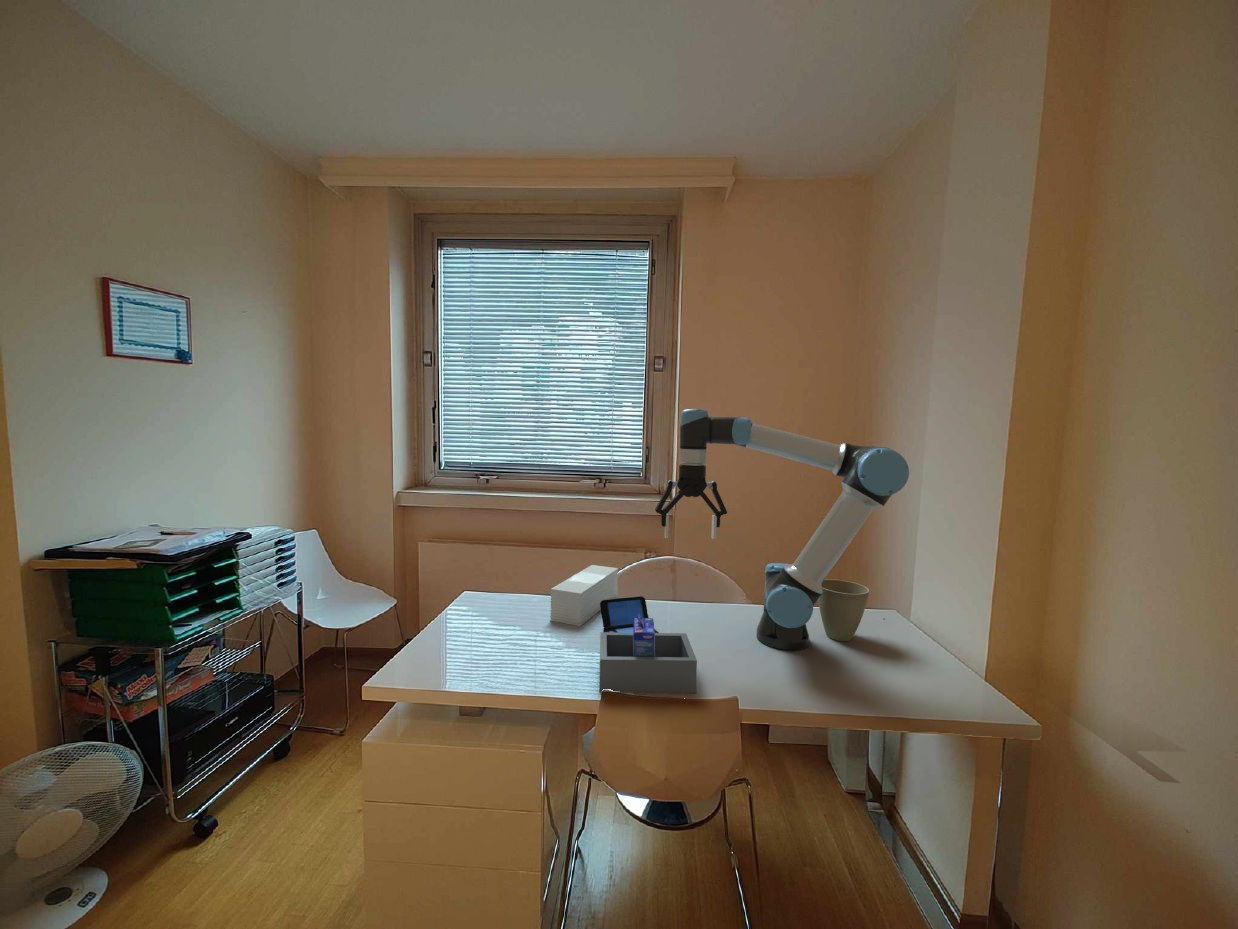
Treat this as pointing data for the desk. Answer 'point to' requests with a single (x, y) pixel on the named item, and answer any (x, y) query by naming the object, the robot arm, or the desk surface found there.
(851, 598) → the plant pot
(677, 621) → the desk surface
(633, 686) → the collection bin
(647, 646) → the ink cartridge box
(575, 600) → the stack of papers
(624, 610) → the handheld game console
